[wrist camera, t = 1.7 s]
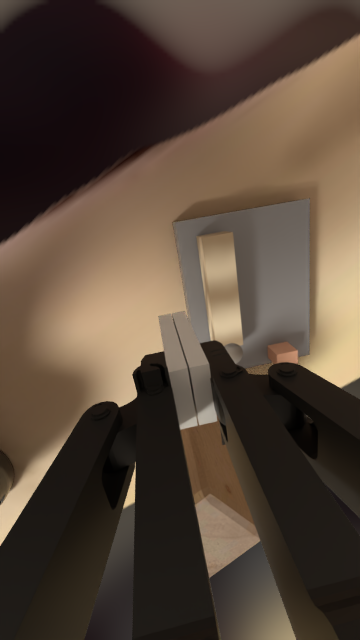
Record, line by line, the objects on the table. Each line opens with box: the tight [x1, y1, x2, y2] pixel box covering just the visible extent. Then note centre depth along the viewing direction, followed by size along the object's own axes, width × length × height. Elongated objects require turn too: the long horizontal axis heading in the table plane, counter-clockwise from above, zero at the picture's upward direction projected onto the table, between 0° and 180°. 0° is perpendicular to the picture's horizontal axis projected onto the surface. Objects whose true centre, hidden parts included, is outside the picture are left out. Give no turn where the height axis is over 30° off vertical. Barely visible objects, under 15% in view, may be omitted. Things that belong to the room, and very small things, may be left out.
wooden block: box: [181, 411, 260, 577], centre depth 37 cm, size 10×10×20 cm
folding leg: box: [196, 231, 243, 364], centre depth 35 cm, size 17×4×4 cm, turn 9°
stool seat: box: [173, 198, 310, 369], centre depth 37 cm, size 17×22×6 cm
